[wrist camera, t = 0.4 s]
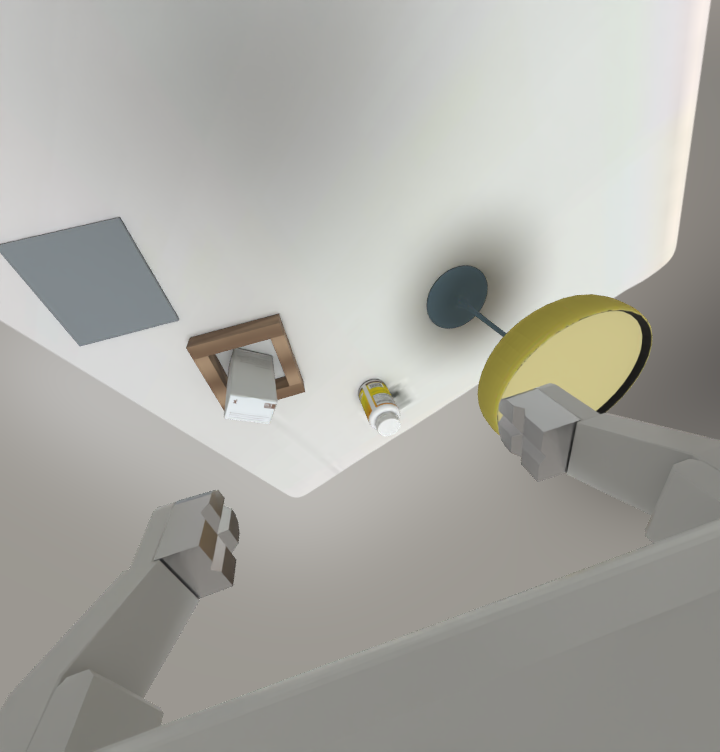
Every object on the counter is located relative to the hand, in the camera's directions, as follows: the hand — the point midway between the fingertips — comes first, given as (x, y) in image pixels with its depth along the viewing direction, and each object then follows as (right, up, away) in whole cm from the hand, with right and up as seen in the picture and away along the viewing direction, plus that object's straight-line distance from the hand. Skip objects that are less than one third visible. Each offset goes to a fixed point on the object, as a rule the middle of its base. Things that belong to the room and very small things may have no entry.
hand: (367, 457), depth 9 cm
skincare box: (-17, +5, +41) cm, 45 cm away
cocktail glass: (+16, +15, +44) cm, 49 cm away
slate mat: (-32, +13, +30) cm, 46 cm away
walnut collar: (-17, +5, +41) cm, 45 cm away
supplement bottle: (+2, 0, +51) cm, 51 cm away
